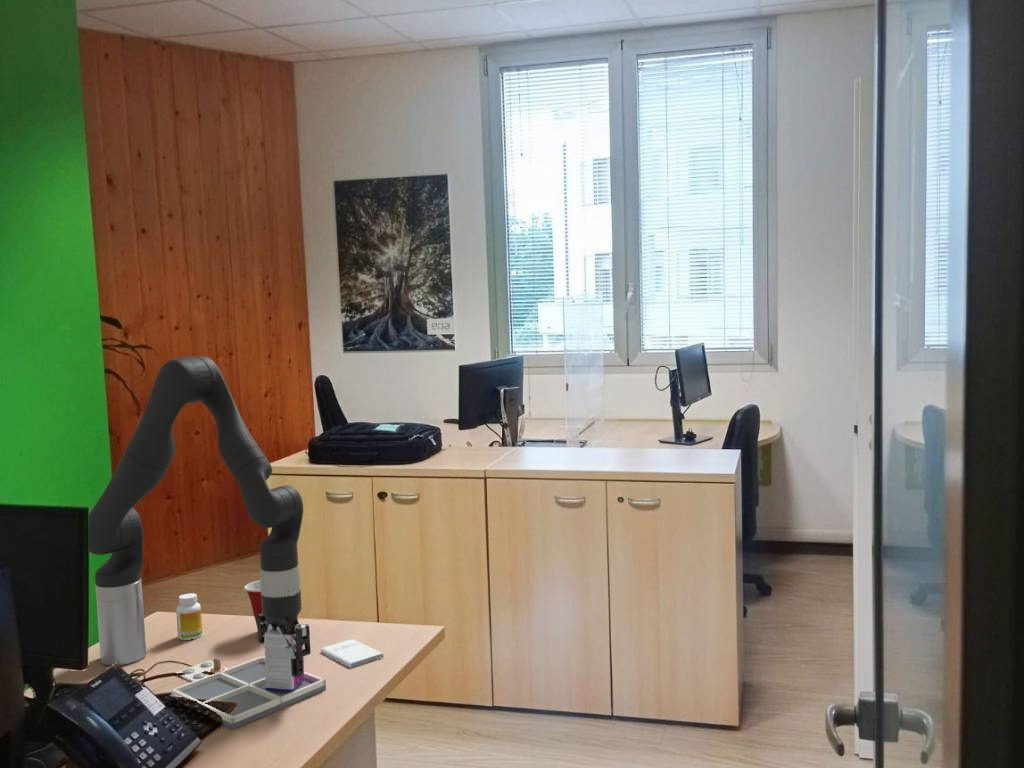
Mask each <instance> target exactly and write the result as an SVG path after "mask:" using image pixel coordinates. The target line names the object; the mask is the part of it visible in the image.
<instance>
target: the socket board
mask: <svg viewBox="0 0 1024 768" xmlns="http://www.w3.org/2000/svg"><path fill="white" fill-rule="evenodd" d="M228 668H229V669H226V670H223V671H221V672H218V673H215V674H212V675H210V676H207V677H204V678H202V679H199V680H196V681H193V682H191V681H190V682H188V683H185V684H182V685H180V686H177V687H174V688H172V689H170V691H171V692H170V695H177V696H181V697H185V698H187V699H190V700H194V701H197V703H199V704H201V705H203V706H205V707H207V708H209V709H210V710H212V711H214V712H216V713H217V714H218V715H220V716H221V717H222V722H223V724H224V725H223V724H222V725H223V726H225V725H226V726H225V727H227V728H229V729H231V730H234V729H237V728H239V727H241V726H244V725H246V724H248V723H250V722H253V721H255V720H258V719H260V718H262V717H265V716H266V715H269V714H271V713H274V712H278V711H279V710H282V709H283V708H286V707H288V705H289V706H291V705H292V704H293V705H294V704H296V703H297V702H300V701H302V700H305V699H307V698H310V697H312V696H314V695H317V694H318V693H322V692H324V691H325V690H327V685H326V683H327V682H326V678H323V677H320V676H317V675H315V674H313V673H312V674H311V673H309V672H306V671H304V681H303V682H302V683H301V684H299V685H298V686H297V687H296V688H295V689H294V690H293V691H292V692H281V691H266V679H265V655H262V656H260V657H257V658H254V659H251V660H248V661H245V662H243V663H240V664H237V665H235V666H232V667H228ZM195 698H198V699H209V700H206V701H204V702H201V701H199V700H197V699H195ZM211 701H222V702H235V703H237V706H236V707H235V708H234V710H233V711H232V712H231V713H229V714H227V713H225V712H222V711H220V710H218V709H216V708H214V707H212V706H210V705H208V704H205V703H208V702H211ZM295 702H296V703H295Z"/></svg>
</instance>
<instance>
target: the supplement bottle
mask: <svg viewBox="0 0 1024 768" xmlns="http://www.w3.org/2000/svg"><path fill="white" fill-rule="evenodd" d="M178 604H179V605H178V606H177V607H176V611H175V612H176V624H177V638H178V639H179V640H181V641H191V639H193V640H195V639H199V638H200V637H203V636H202V635H203V622H202V606H201V604H200V602H198V595H197V593H186V594H185V593H184V594H180V595H179V596H178Z"/></svg>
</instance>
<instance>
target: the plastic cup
mask: <svg viewBox="0 0 1024 768" xmlns="http://www.w3.org/2000/svg"><path fill="white" fill-rule="evenodd" d="M243 588H244V590H245V591H246V592H247V595H248V599H249V600H250V605H251V609H252V613H253V616H254V620H255V624H256V625H257V615H258V614H261V613H262V602H261V583H260V579H258V580H256V581H252V582H249V583H247V584H245V586H244V587H243ZM265 633H266V631H264V632H263V636H264V634H265Z"/></svg>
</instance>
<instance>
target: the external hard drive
mask: <svg viewBox="0 0 1024 768" xmlns="http://www.w3.org/2000/svg"><path fill="white" fill-rule="evenodd" d="M320 653H321V654H323V655H325V656H327V657H328V658H330V659H332V660H335V661H336V662H339V664H342V665H344V666H346V667H347V666H348V668H349V669H352V668H355V666H356V667H358V665H359V666H361V664H362V665H365V664H368V663H371V662H373V661H372V660H374V661H376V660H375V659H377V658H380V657H384V653H382V652H380V651H378V650H376V649H374V648H372V647H369V646H367V645H365V644H364V643H361V642H359V641H357V640H355V639H353V638H351V639H347V640H344V641H341V642H338V643H334V644H331V645H330V644H329V645H327V646H324V647H322V648H321V649H320ZM380 659H381V658H380ZM377 660H378V659H377ZM370 661H371V662H370ZM367 662H368V663H367ZM364 663H365V664H364Z"/></svg>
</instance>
